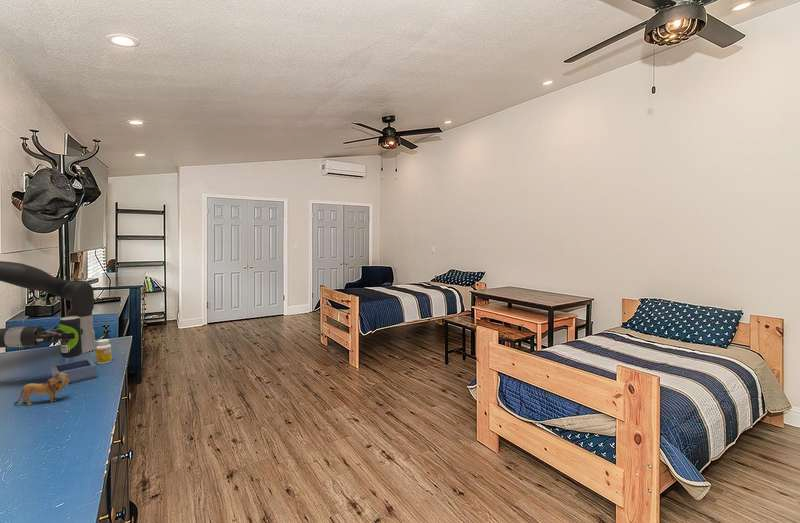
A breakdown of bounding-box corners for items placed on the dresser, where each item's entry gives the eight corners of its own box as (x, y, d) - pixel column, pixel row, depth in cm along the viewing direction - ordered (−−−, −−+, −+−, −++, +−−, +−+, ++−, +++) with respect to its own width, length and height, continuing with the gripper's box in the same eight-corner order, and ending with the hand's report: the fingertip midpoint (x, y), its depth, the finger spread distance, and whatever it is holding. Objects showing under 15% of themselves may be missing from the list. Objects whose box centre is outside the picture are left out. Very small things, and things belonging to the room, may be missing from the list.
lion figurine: (72, 394, 138) (70, 369, 137) (68, 400, 133) (66, 374, 132) (16, 403, 131) (14, 377, 130) (9, 409, 126) (7, 382, 125)
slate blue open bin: (90, 370, 161) (90, 358, 161) (96, 377, 153) (95, 365, 153) (52, 378, 152) (51, 365, 152) (56, 386, 144) (55, 373, 144)
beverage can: (83, 355, 152) (81, 317, 150) (62, 359, 147) (60, 320, 146) (80, 351, 156) (78, 315, 155) (60, 355, 152) (58, 317, 150)
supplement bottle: (94, 363, 169) (92, 341, 169) (107, 359, 174) (105, 338, 174) (101, 364, 167) (100, 342, 167) (115, 360, 172) (113, 339, 172)
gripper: (11, 331, 140) (68, 328, 145) (36, 322, 153) (87, 319, 158) (13, 352, 140) (69, 348, 145) (37, 341, 154) (88, 338, 159)
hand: (78, 333), depth 152 cm, fingers closed on beverage can, 5 cm apart
